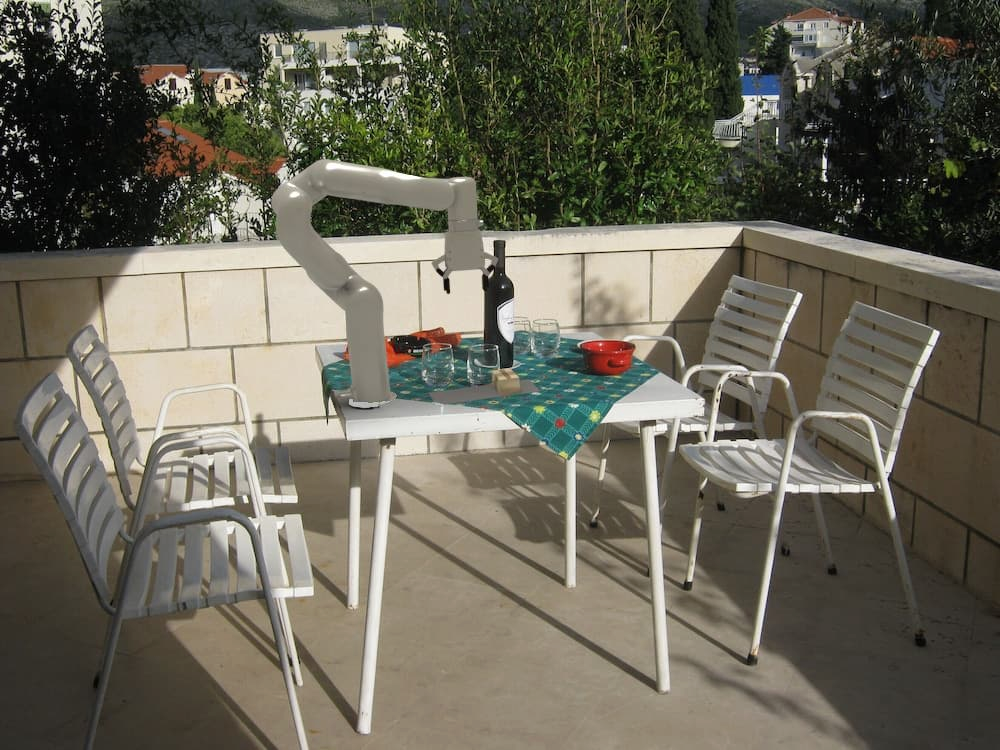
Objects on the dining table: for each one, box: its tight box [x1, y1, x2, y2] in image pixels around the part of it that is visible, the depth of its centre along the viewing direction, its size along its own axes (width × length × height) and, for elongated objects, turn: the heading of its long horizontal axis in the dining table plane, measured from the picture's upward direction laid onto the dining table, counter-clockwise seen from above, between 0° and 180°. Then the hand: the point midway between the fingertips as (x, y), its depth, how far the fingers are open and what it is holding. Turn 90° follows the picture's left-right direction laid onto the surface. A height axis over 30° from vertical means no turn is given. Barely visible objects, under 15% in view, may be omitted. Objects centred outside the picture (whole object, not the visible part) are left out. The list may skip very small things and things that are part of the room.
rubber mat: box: [428, 378, 542, 405], centre depth 276 cm, size 27×12×1 cm, turn 103°
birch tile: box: [491, 368, 520, 395], centre depth 277 cm, size 10×5×4 cm, turn 13°
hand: (466, 291), depth 280 cm, fingers open, 9 cm apart
